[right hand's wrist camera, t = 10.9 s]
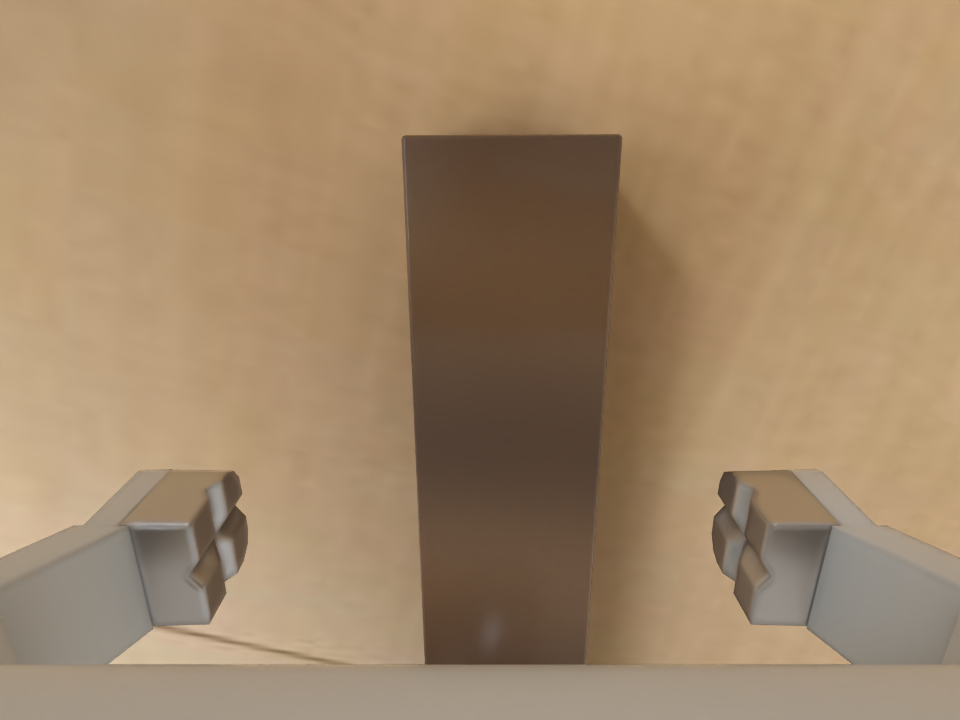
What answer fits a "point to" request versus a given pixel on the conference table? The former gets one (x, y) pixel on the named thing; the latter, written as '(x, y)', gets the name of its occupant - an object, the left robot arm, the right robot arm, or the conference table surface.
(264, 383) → the conference table surface
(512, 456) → the beam
